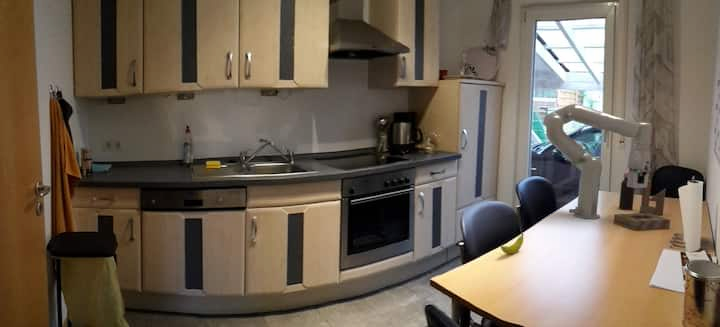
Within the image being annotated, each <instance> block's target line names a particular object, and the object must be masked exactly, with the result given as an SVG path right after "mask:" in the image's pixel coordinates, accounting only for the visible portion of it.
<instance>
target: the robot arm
mask: <svg viewBox="0 0 720 327" xmlns="http://www.w3.org/2000/svg"><path fill="white" fill-rule="evenodd" d="M542 122H543V125H544V127H545V133H546V137H547V140H548V141H549V142H550V143H551V145H552V146H554V147H555V148H556V149H557V150H558V151H559V152H561V155H562V156H563V158H565V159H567V160H568V162H570V163H571V164H572V165H574V167H576V168H577V169H579V171H580V172H581V173H580V176H579V182H578V183H579V184H578V193H577V194H578V197H577V206H575V208H570V209H568V212H569V214H570V213H571V214H573V216H575V217H577V218H579V219H580V218H581V219H588V220H597V219H600V218H601V215H600V214H599V213H598V206H599V196H600V195H599V191H600V182H601V176H602V171H603V164H602V163H603V162H602V161H601V160H600V159H599V158H598V157H597V156H595V155H592V154H590V153H589V152H588V151H587V150H586V149H584V148H583V146H582V145H581V144H580V143H579V142H576V141H575V140H574V139H573V138H571V137H570V136H569V135H568V134H567V133H566V132H565V130H564V125H565V124H568V123H570V122H576V123H580V124H583V125H585V126H588V127H592V128H595V129H598V130H602V131H608V132H612V133H614V134H617V135H620V136H622V137H627V138H633V141H632V144H631V146H632V148H631V149H630V152H629V156H628V162H627V168H628V169H629V170H628V171H640V176H639V179H638V184H644V178H645V176H646V174H647V173H650V172H651V168H650V167H651V151H650V146H651V138H652V127H653V126H652V124H651V123H650V122H641V121H640V122H639V121H638V122H633V121H629V120H628V119H624V118H621V117H618V116H614V115H611V114H609V113H606V112H603V111H601V110H597V109H593V108H591V107H587V106H585V105H581V104H576V103H572V104H568V105H566V106H564V107H562V108H559V109H557V110H554V111H552V112H550V113H548V114H546V115H545V116H544V118H543V121H542ZM567 160H566V161H567ZM642 171H643V173H642Z"/></svg>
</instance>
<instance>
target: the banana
mask: <svg viewBox="0 0 720 327" xmlns="http://www.w3.org/2000/svg"><path fill="white" fill-rule="evenodd" d="M524 235H525V234H524V233H522V234H521V235H520V236H519V237H518V238H517V239H516V241H515V242H514V243H513V244H512V245H508V246H506V245H505V246H504V245H501V246H500V250H502V252H503V253H504V254H507V255H511V254H516V253H517V252H519V250H520V249H521V247H522V246H523V243H524Z"/></svg>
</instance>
